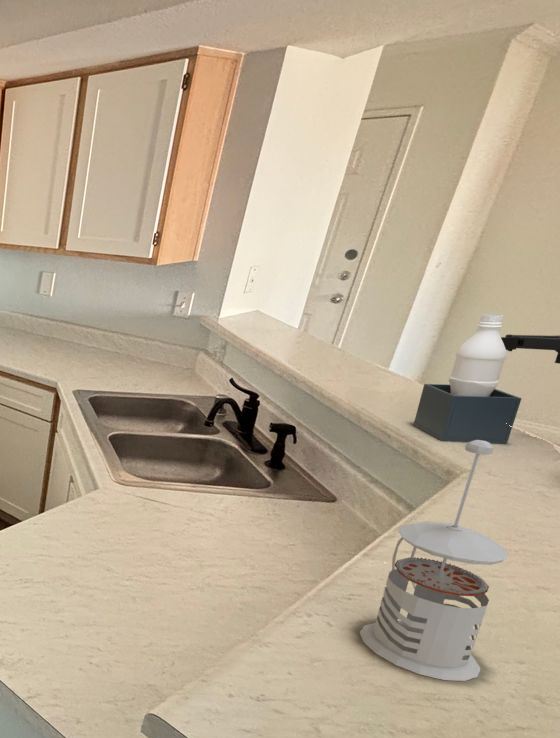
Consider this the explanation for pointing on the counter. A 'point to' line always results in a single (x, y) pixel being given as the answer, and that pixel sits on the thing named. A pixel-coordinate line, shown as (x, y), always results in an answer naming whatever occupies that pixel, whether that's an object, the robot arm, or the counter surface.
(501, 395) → the tub
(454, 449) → the counter surface
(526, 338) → the robot arm
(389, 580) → the french press
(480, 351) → the water bottle
